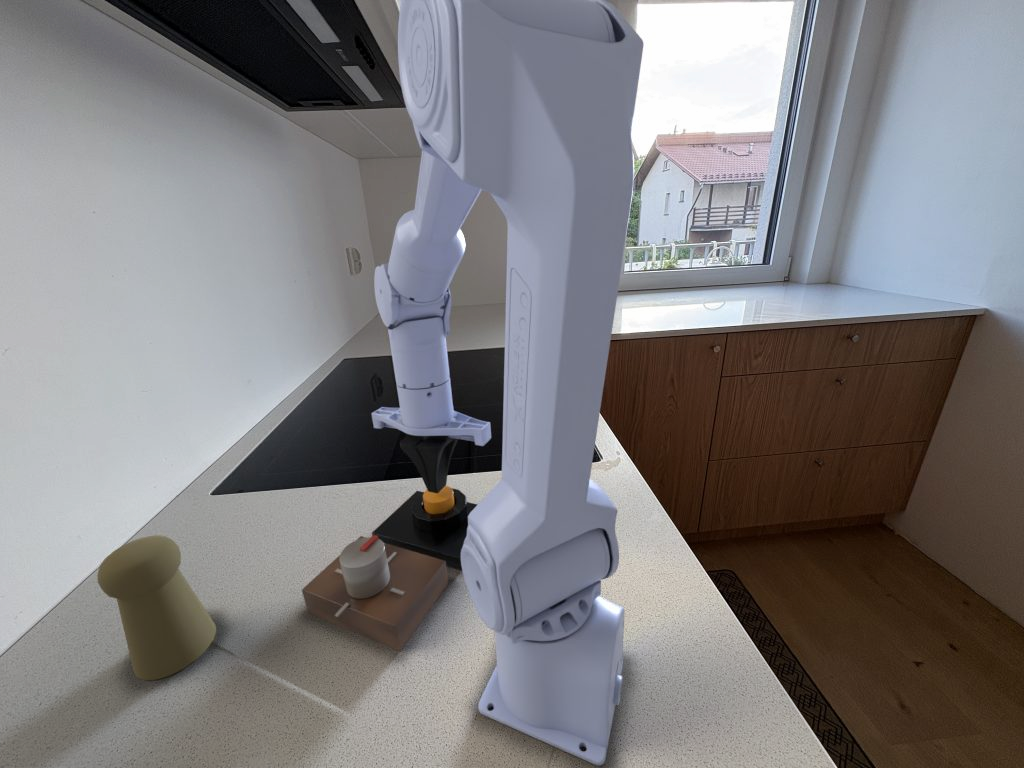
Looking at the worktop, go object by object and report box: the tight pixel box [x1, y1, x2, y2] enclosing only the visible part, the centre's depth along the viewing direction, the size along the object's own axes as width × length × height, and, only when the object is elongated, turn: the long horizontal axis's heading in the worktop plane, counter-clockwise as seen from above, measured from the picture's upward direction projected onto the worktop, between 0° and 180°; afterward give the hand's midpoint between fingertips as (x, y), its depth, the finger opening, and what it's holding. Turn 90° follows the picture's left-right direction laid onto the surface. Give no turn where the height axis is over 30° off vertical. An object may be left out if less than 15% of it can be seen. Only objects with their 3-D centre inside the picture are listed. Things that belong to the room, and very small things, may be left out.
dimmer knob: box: [339, 535, 390, 599], centre depth 39 cm, size 4×4×4 cm
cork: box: [96, 534, 217, 681], centre depth 36 cm, size 6×6×11 cm
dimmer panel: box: [301, 535, 449, 652], centre depth 41 cm, size 11×9×3 cm
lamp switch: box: [371, 487, 479, 572], centre depth 50 cm, size 12×9×4 cm
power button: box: [423, 485, 455, 514], centre depth 51 cm, size 4×4×2 cm
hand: (437, 487), depth 50 cm, fingers closed
